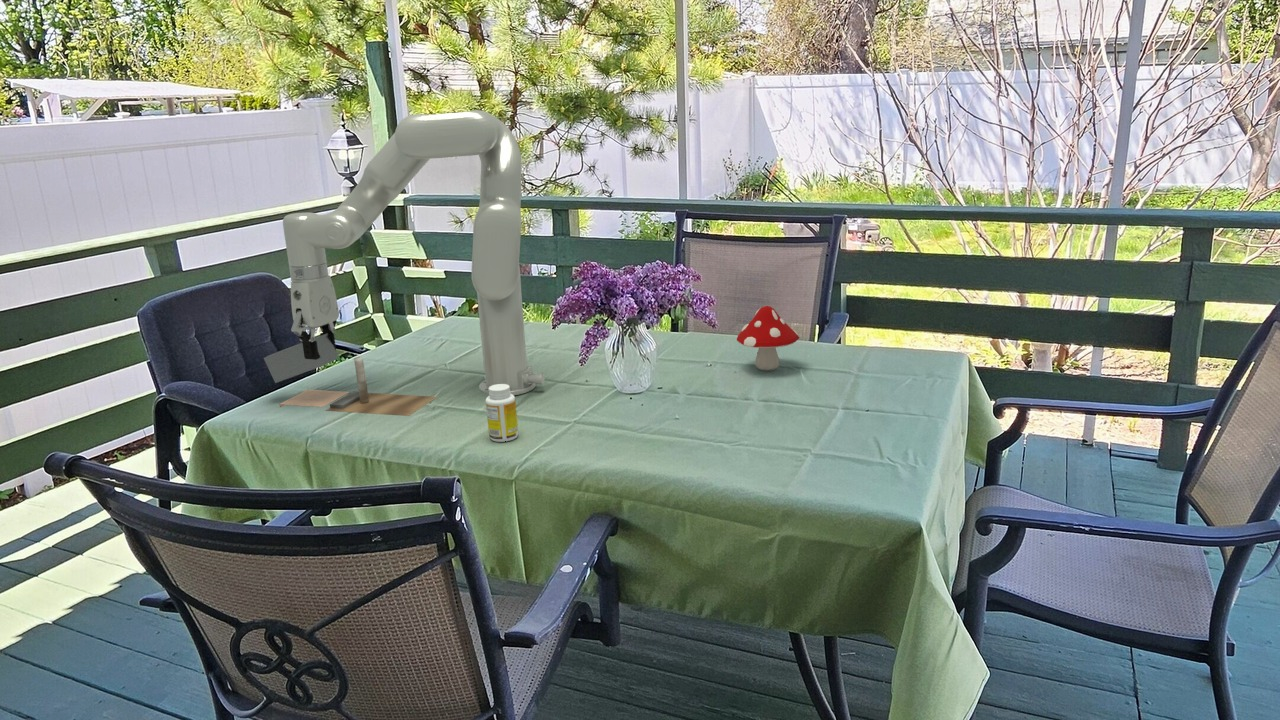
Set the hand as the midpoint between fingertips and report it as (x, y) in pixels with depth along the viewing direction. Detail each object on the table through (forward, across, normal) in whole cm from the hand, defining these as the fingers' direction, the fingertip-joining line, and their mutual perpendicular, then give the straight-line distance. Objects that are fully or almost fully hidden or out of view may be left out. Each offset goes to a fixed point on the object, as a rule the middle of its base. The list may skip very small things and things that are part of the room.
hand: (320, 354), depth 194 cm
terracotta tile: (+11, 0, +3) cm, 11 cm away
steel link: (+4, 0, +4) cm, 6 cm away
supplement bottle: (+11, -13, -48) cm, 51 cm away
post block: (+11, -1, -14) cm, 18 cm away
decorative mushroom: (+10, +37, -91) cm, 99 cm away
